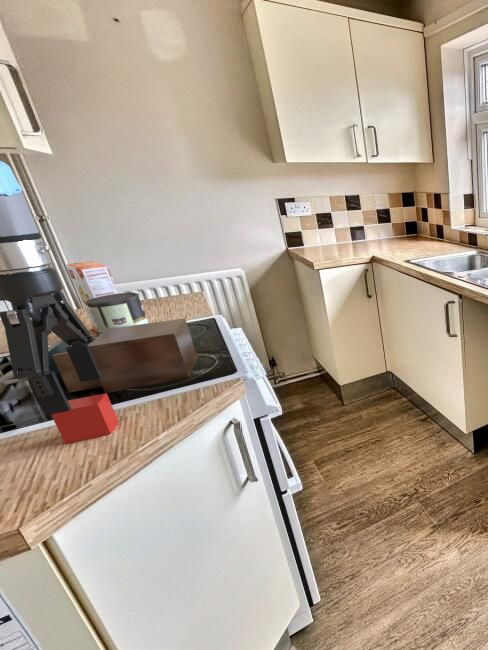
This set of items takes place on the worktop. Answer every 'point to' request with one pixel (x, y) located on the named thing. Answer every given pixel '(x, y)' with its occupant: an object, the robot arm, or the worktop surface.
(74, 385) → the drawer
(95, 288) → the cracker box
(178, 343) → the cabinet
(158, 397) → the worktop surface
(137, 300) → the coffee can
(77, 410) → the box
